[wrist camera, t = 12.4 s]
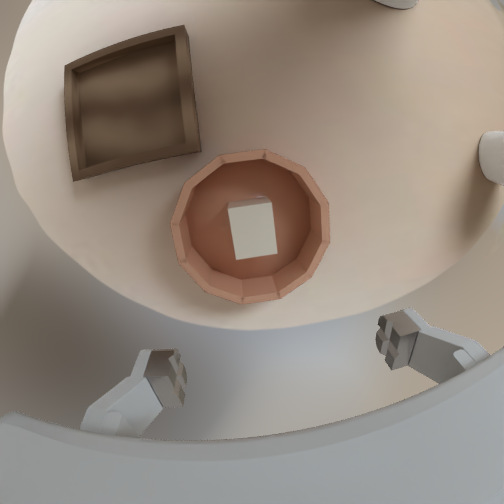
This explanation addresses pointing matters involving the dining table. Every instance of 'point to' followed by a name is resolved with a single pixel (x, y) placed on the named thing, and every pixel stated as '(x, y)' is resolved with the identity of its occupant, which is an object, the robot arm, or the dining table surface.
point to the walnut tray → (131, 104)
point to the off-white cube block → (252, 227)
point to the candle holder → (492, 156)
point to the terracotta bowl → (220, 236)
